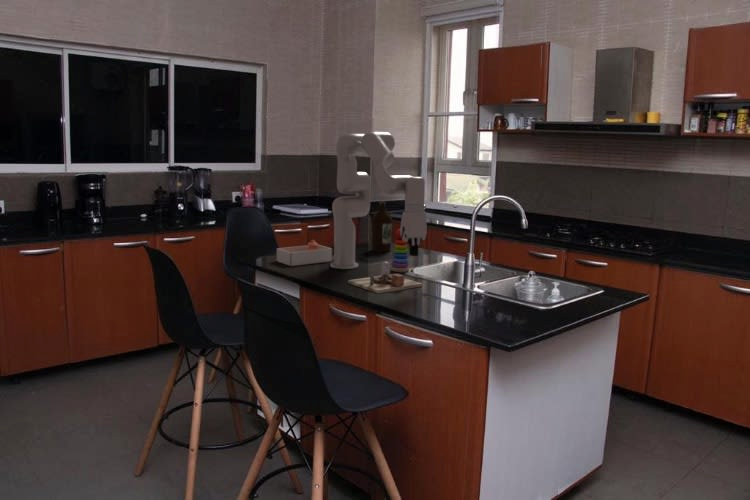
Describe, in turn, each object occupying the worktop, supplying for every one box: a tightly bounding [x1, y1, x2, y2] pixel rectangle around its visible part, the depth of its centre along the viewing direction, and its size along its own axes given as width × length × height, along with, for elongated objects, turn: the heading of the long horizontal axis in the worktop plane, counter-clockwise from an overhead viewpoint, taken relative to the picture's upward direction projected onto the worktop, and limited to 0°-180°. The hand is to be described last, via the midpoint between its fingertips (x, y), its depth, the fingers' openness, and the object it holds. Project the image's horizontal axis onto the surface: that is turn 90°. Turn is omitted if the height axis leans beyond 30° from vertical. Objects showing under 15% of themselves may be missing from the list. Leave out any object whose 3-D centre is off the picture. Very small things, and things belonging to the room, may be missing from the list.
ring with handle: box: [374, 273, 405, 286], centre depth 261 cm, size 15×9×4 cm, turn 37°
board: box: [347, 273, 423, 294], centre depth 264 cm, size 20×22×1 cm
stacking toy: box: [390, 228, 410, 273], centre depth 290 cm, size 8×8×19 cm
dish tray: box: [276, 244, 333, 267], centre depth 308 cm, size 13×22×6 cm, turn 127°
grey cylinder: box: [369, 261, 390, 285], centre depth 261 cm, size 3×10×8 cm, turn 127°
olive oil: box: [371, 201, 393, 253], centre depth 337 cm, size 11×11×25 cm
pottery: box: [291, 239, 319, 253], centre depth 306 cm, size 18×10×10 cm, turn 127°
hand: (413, 255), depth 259 cm, fingers closed
